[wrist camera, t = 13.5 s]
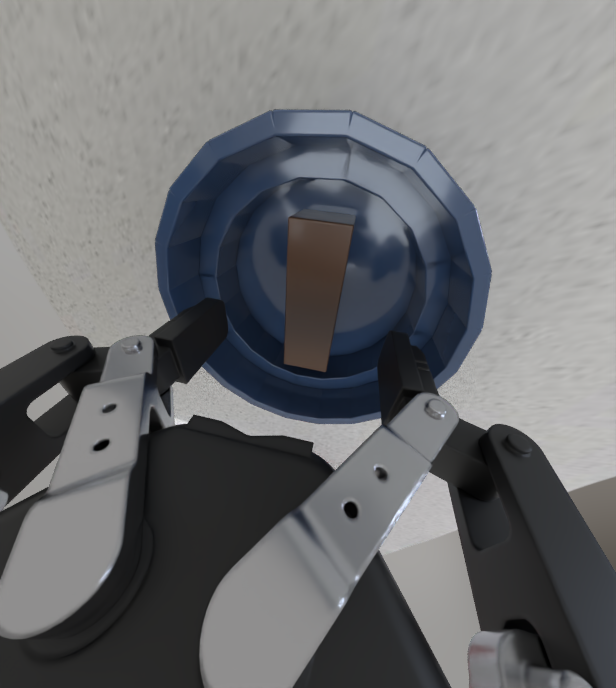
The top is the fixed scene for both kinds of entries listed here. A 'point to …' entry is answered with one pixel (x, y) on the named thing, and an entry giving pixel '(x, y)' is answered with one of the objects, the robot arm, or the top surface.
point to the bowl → (362, 266)
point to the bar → (314, 284)
